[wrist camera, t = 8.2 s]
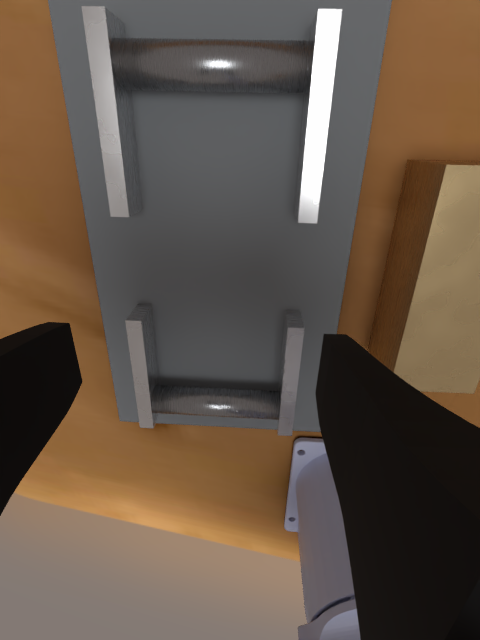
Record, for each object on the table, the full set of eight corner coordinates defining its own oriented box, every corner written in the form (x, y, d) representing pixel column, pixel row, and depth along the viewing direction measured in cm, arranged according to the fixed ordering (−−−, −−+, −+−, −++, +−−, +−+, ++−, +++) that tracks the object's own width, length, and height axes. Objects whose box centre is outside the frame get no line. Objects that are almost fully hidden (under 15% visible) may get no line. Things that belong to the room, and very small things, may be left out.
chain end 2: (289, 412, 22) (291, 435, 20) (149, 404, 22) (139, 427, 21) (300, 310, 19) (304, 328, 17) (137, 303, 19) (125, 320, 18)
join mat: (318, 425, 23) (320, 432, 23) (123, 414, 24) (119, 421, 23) (390, -20, 13) (395, -26, 13) (51, -22, 14) (43, -29, 13)
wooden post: (436, 349, 21) (473, 393, 17) (367, 347, 21) (389, 389, 17) (495, 161, 16) (562, 166, 13) (405, 159, 16) (446, 164, 13)
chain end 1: (310, 214, 17) (316, 223, 15) (126, 208, 17) (110, 216, 15) (331, 26, 14) (342, 9, 12) (104, 23, 14) (81, 6, 12)
